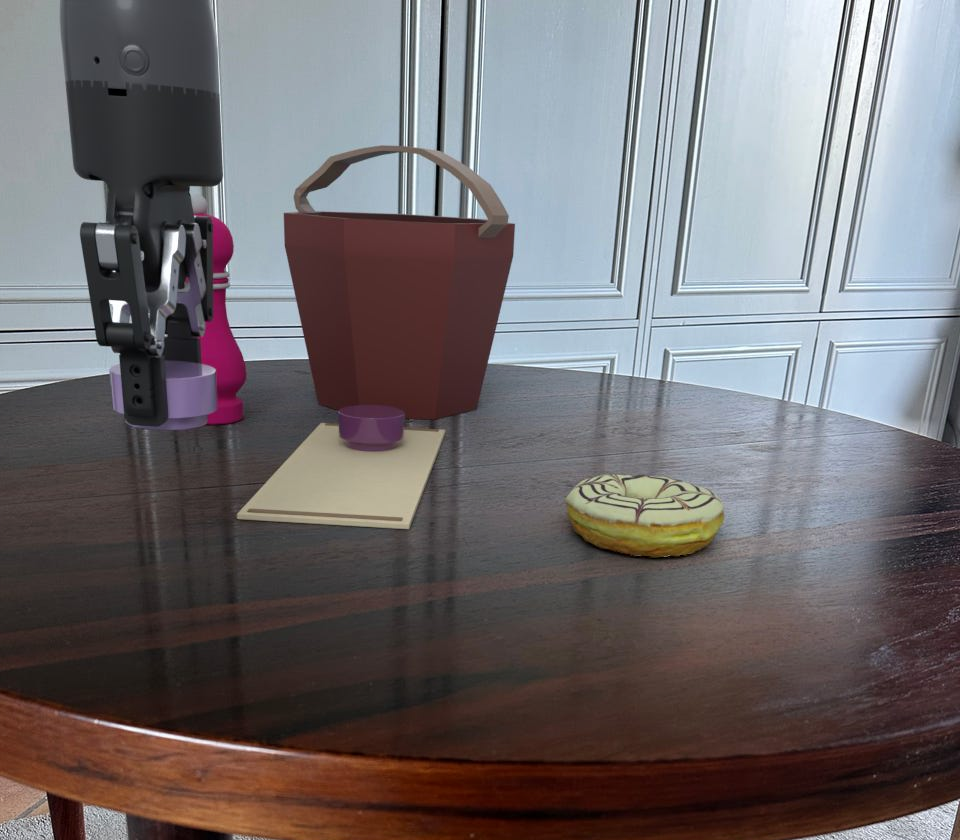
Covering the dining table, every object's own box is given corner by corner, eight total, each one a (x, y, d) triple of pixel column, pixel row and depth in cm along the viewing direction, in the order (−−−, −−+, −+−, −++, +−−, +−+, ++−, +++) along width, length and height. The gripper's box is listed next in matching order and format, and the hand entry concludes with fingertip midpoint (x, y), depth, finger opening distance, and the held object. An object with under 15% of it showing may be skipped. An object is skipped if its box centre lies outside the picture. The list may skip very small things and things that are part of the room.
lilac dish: (97, 429, 57) (92, 374, 55) (135, 408, 62) (131, 357, 61) (201, 436, 57) (198, 381, 55) (230, 414, 62) (228, 364, 61)
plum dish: (333, 451, 88) (332, 416, 87) (344, 436, 93) (344, 403, 92) (400, 455, 88) (400, 420, 87) (407, 439, 93) (408, 406, 92)
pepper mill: (260, 422, 99) (250, 197, 91) (187, 429, 95) (170, 194, 87) (231, 408, 104) (220, 194, 96) (161, 413, 100) (143, 191, 92)
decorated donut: (649, 509, 78) (654, 460, 76) (750, 551, 69) (759, 497, 68) (535, 525, 73) (539, 473, 71) (630, 573, 64) (637, 515, 63)
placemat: (237, 519, 71) (236, 512, 71) (320, 426, 98) (320, 421, 98) (409, 529, 71) (409, 522, 70) (445, 433, 98) (445, 428, 98)
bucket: (252, 392, 112) (240, 138, 102) (409, 375, 126) (413, 151, 116) (388, 436, 96) (391, 140, 86) (552, 412, 110) (572, 154, 100)
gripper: (123, 88, 59) (145, 385, 66) (3, 62, 46) (47, 436, 53) (252, 96, 59) (261, 393, 66) (169, 72, 45) (192, 446, 52)
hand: (166, 411), depth 59 cm, fingers closed on lilac dish, 5 cm apart
